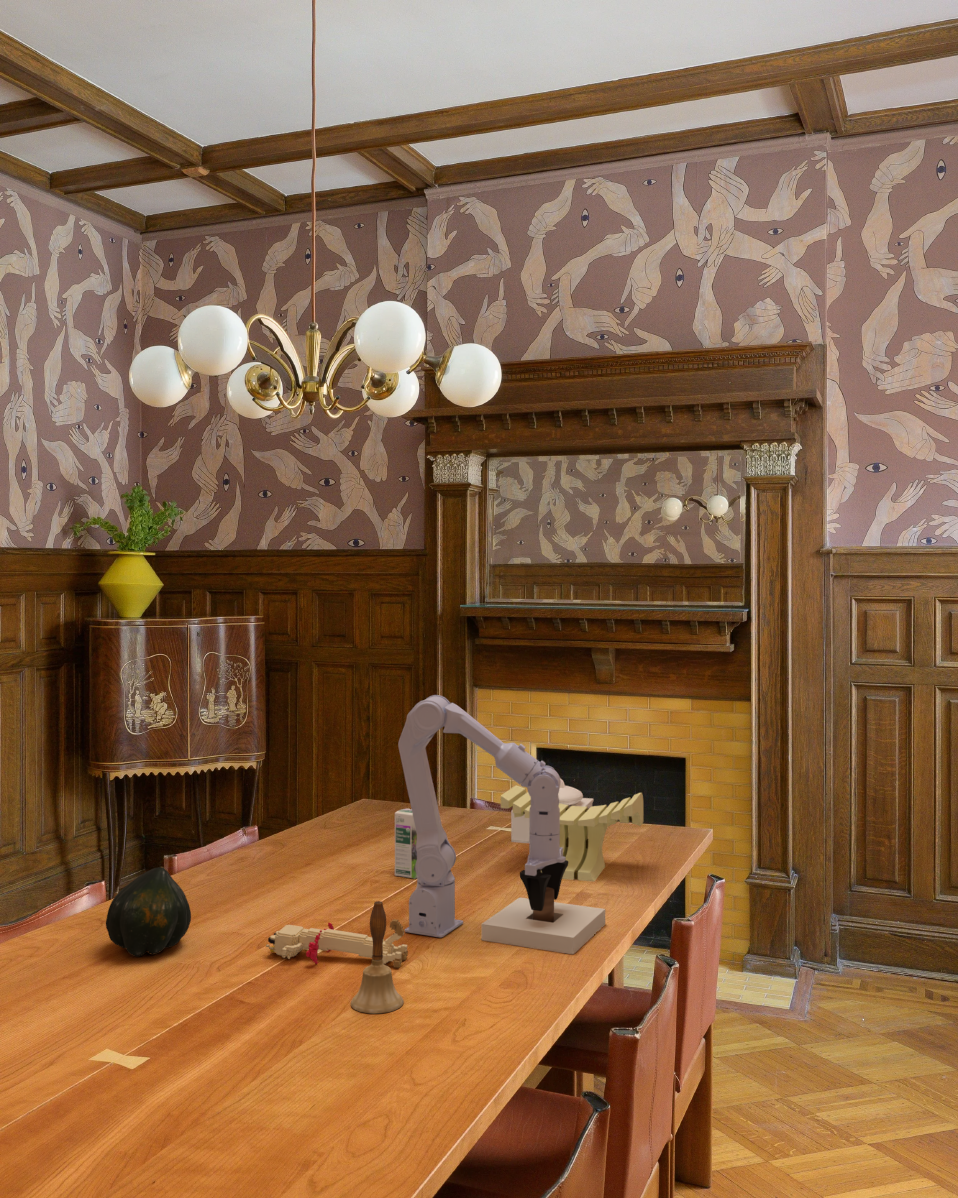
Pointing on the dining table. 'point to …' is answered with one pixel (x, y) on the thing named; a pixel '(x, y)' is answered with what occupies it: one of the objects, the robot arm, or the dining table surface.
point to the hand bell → (377, 973)
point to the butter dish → (566, 797)
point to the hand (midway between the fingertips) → (544, 904)
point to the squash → (149, 914)
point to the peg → (546, 908)
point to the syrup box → (405, 844)
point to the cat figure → (335, 943)
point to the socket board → (544, 927)
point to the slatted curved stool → (581, 829)
